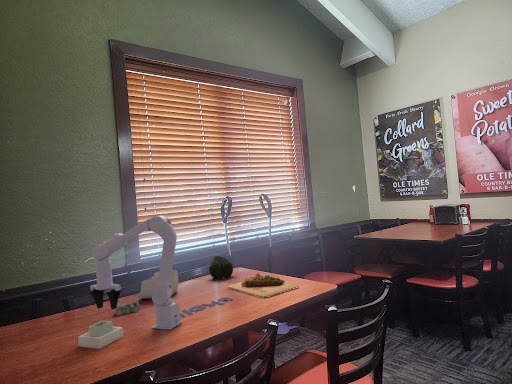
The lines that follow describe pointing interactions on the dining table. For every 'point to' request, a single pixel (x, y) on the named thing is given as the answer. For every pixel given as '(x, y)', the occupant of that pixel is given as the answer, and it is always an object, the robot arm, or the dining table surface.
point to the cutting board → (262, 286)
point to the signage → (203, 306)
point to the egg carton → (127, 308)
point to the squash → (220, 268)
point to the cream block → (150, 285)
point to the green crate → (100, 329)
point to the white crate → (100, 339)
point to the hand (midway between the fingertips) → (107, 308)
